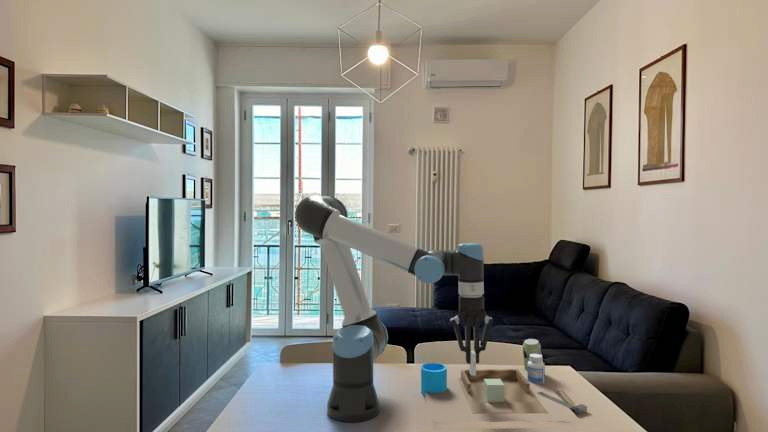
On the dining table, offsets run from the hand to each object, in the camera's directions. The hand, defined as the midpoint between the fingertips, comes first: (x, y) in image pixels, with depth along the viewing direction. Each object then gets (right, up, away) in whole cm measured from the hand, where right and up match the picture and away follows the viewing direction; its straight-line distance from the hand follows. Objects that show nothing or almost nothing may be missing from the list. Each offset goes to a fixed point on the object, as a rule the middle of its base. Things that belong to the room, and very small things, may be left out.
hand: (472, 373), depth 141 cm
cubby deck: (+9, -9, +4) cm, 13 cm away
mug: (-10, -9, +11) cm, 17 cm away
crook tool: (+26, -9, -1) cm, 28 cm away
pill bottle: (+24, -9, +15) cm, 29 cm away
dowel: (+28, -9, +1) cm, 30 cm away
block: (+6, -7, 0) cm, 10 cm away
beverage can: (+26, -8, +25) cm, 36 cm away
